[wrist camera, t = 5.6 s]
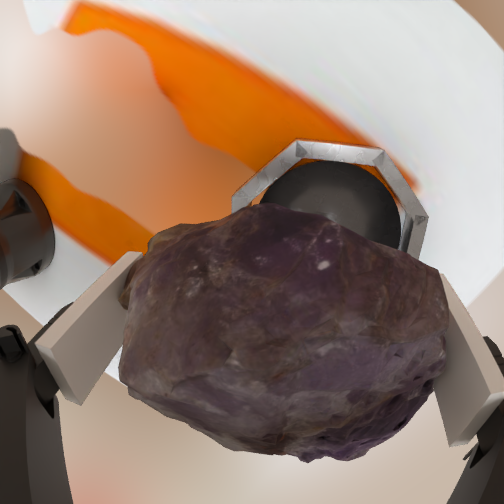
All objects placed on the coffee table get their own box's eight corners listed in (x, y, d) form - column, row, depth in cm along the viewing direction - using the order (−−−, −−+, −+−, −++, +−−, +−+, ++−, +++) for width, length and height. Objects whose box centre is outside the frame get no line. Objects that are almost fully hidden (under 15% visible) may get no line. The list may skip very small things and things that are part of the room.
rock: (312, 364, 18) (441, 250, 13) (322, 497, 11) (527, 391, 6) (131, 272, 15) (240, 88, 10) (57, 420, 8) (171, 121, 3)
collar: (235, 302, 37) (231, 314, 34) (237, 134, 28) (232, 136, 26) (392, 315, 34) (396, 328, 32) (429, 156, 26) (438, 160, 24)
